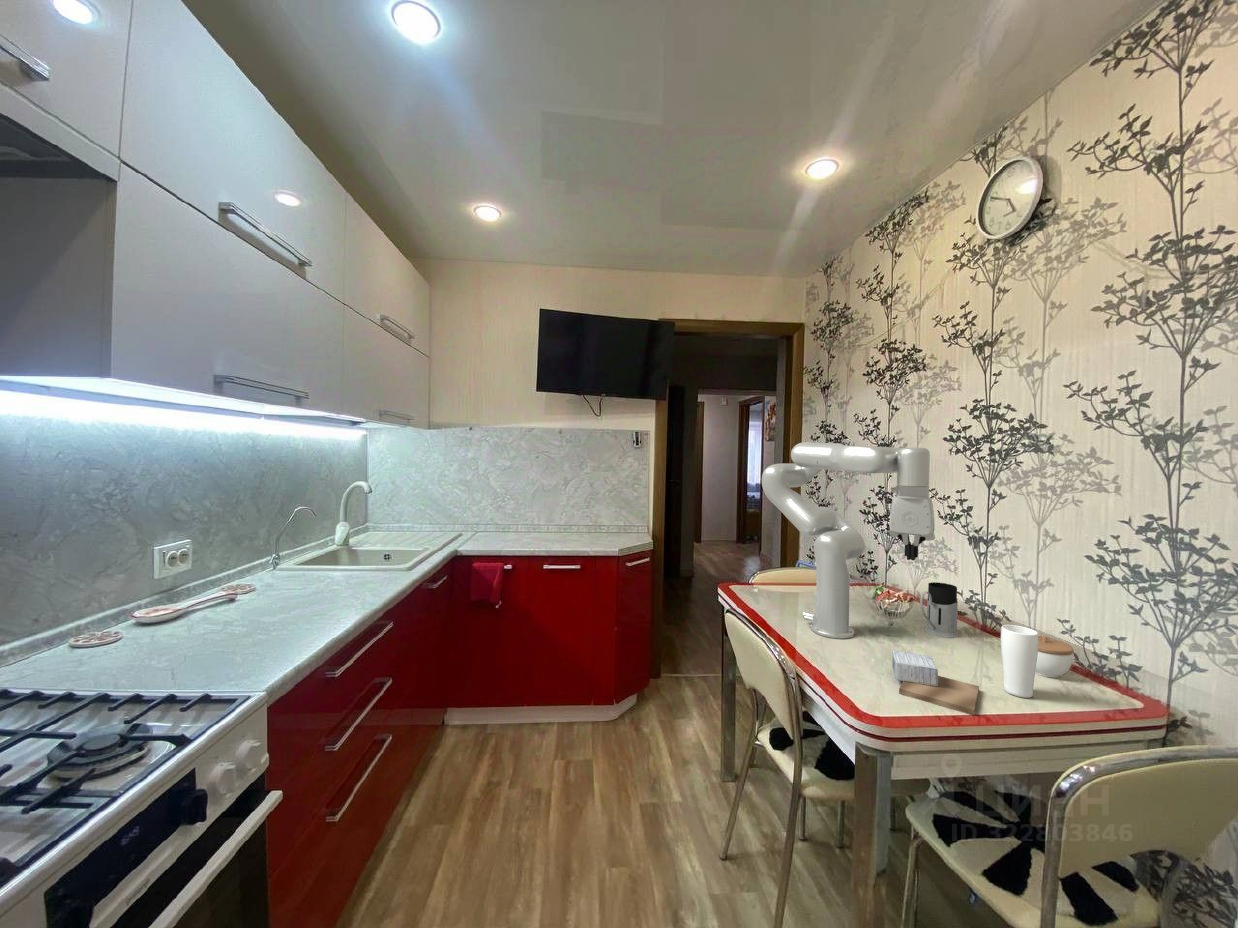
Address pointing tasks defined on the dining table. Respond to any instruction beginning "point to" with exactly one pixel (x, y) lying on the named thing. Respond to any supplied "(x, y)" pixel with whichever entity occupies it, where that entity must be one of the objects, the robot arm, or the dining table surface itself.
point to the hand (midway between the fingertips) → (911, 559)
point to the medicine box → (914, 668)
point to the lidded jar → (1053, 657)
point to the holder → (941, 610)
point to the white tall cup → (1019, 659)
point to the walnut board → (944, 694)
